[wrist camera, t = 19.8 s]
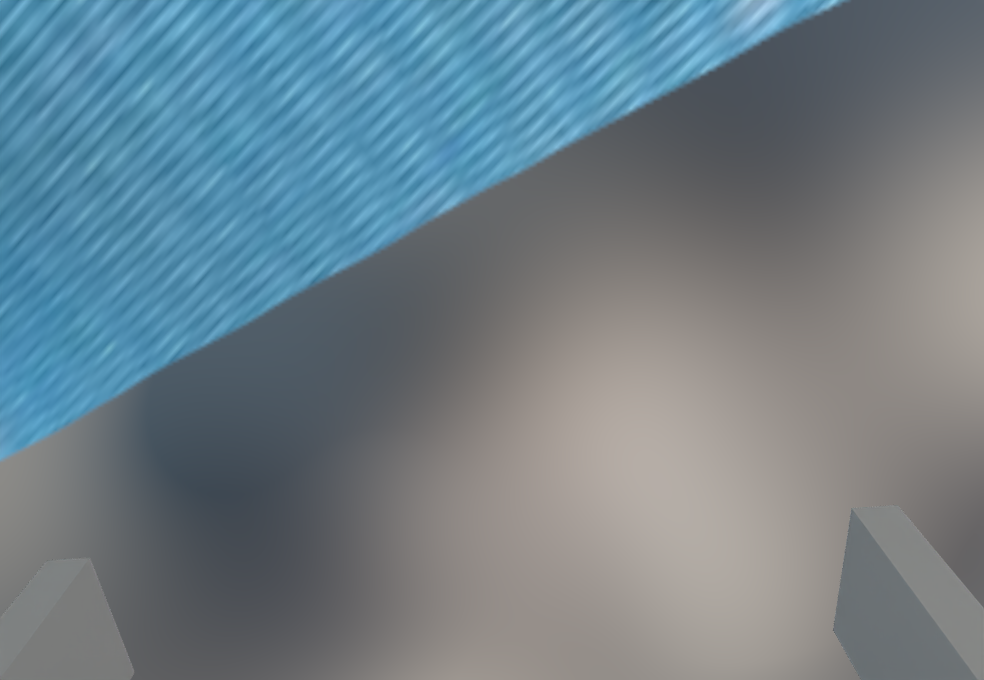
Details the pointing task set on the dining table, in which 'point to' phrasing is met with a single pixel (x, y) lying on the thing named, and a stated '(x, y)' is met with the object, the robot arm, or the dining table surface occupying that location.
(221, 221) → the dining table surface
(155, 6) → the dining table surface
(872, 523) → the robot arm
